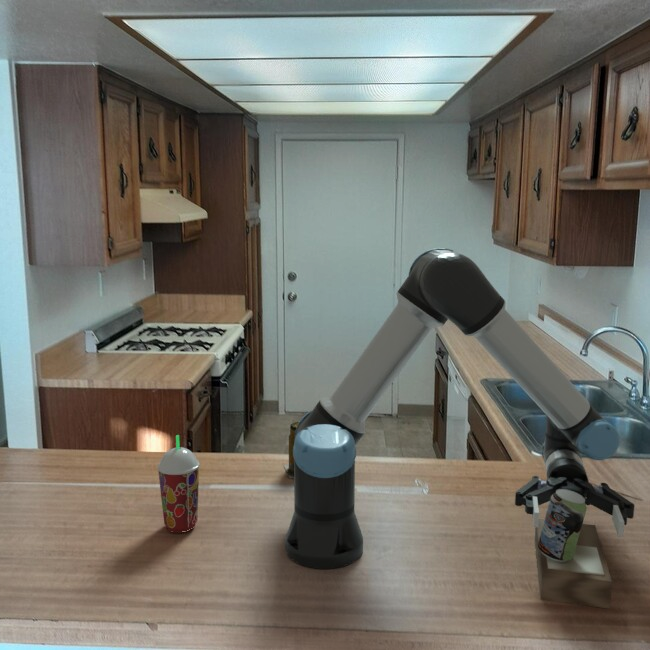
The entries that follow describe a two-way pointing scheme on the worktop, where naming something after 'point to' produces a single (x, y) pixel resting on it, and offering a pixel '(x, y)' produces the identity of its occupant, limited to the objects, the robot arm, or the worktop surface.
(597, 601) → the riser
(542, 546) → the beverage can
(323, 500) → the robot arm
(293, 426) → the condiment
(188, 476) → the smoothie
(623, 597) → the worktop surface
